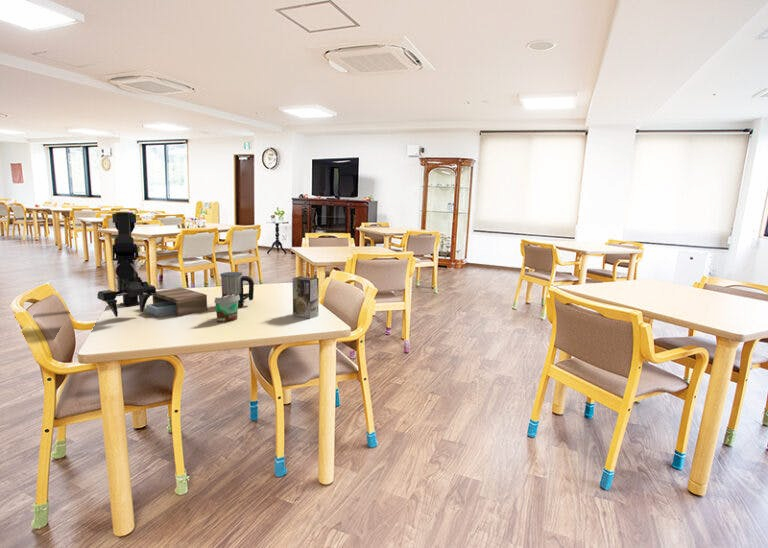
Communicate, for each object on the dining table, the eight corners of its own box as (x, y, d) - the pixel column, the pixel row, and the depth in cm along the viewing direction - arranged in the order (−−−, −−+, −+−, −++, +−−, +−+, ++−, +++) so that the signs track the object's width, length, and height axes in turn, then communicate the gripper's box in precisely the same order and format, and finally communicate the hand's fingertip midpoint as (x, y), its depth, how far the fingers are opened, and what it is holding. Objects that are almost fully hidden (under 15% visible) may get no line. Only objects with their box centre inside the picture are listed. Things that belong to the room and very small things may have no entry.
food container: (229, 324, 161) (228, 299, 159) (215, 323, 162) (214, 298, 160) (246, 316, 173) (245, 292, 171) (232, 314, 174) (232, 291, 172)
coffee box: (319, 315, 178) (319, 277, 175) (310, 319, 173) (310, 280, 170) (301, 312, 182) (301, 275, 179) (292, 315, 176) (291, 277, 173)
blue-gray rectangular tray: (146, 313, 172) (146, 304, 171) (184, 305, 185) (184, 298, 184) (156, 317, 167) (156, 308, 167) (194, 309, 180) (194, 301, 179)
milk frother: (223, 309, 181) (222, 275, 178) (215, 301, 194) (214, 269, 191) (257, 306, 189) (256, 273, 186) (247, 298, 202) (246, 268, 199)
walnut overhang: (153, 307, 180) (152, 291, 178) (181, 302, 190) (180, 287, 189) (178, 316, 168) (177, 299, 167) (207, 310, 179) (206, 294, 177)
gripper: (109, 280, 148) (112, 323, 150) (162, 273, 163) (164, 313, 166) (95, 276, 154) (98, 317, 156) (147, 270, 169) (149, 308, 172)
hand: (129, 314), depth 162 cm, fingers open, 9 cm apart
